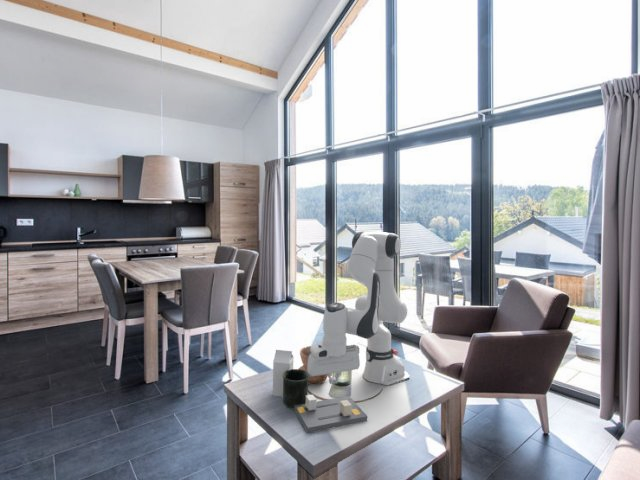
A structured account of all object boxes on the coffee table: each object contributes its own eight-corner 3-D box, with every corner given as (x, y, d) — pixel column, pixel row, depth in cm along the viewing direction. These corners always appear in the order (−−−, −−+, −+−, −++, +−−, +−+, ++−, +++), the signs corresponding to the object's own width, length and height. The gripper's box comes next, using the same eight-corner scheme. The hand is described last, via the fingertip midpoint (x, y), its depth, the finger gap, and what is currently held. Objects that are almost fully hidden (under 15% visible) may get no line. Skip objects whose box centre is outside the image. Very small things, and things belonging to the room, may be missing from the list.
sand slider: (346, 409, 146) (347, 399, 146) (351, 415, 143) (351, 404, 142) (339, 410, 145) (340, 401, 145) (344, 416, 142) (344, 406, 141)
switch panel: (348, 400, 158) (349, 395, 158) (367, 421, 143) (367, 415, 143) (294, 410, 149) (294, 405, 149) (307, 433, 134) (308, 427, 134)
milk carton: (288, 397, 159) (289, 354, 157) (272, 396, 160) (273, 352, 158) (292, 390, 166) (293, 348, 164) (277, 388, 167) (278, 346, 165)
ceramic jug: (288, 377, 178) (289, 348, 176) (312, 369, 187) (313, 341, 186) (313, 393, 164) (314, 362, 163) (337, 383, 174) (338, 353, 172)
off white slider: (312, 404, 150) (312, 394, 149) (316, 409, 146) (316, 399, 146) (305, 405, 149) (305, 395, 148) (308, 410, 145) (309, 400, 145)
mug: (289, 412, 147) (290, 383, 146) (274, 396, 160) (274, 368, 159) (313, 406, 153) (314, 377, 152) (296, 390, 165) (297, 364, 164)
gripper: (355, 341, 146) (354, 375, 148) (306, 347, 139) (305, 383, 140) (363, 347, 141) (362, 382, 142) (311, 354, 133) (311, 391, 134)
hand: (333, 382), depth 141 cm, fingers closed
